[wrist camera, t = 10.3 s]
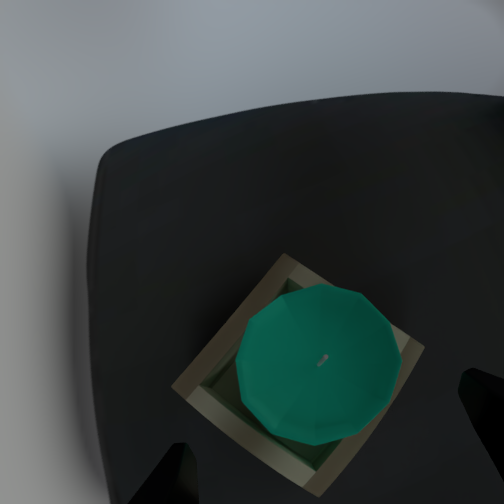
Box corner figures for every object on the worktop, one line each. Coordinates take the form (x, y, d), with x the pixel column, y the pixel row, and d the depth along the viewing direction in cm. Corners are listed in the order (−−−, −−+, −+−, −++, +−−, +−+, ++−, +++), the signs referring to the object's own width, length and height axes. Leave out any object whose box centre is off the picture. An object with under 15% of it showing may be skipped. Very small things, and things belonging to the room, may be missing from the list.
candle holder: (400, 358, 20) (424, 346, 16) (312, 479, 17) (318, 497, 13) (283, 279, 24) (283, 252, 20) (191, 390, 21) (170, 386, 17)
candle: (347, 339, 21) (410, 267, 10) (344, 425, 18) (414, 445, 7) (260, 337, 21) (236, 262, 11) (253, 422, 19) (217, 446, 8)
